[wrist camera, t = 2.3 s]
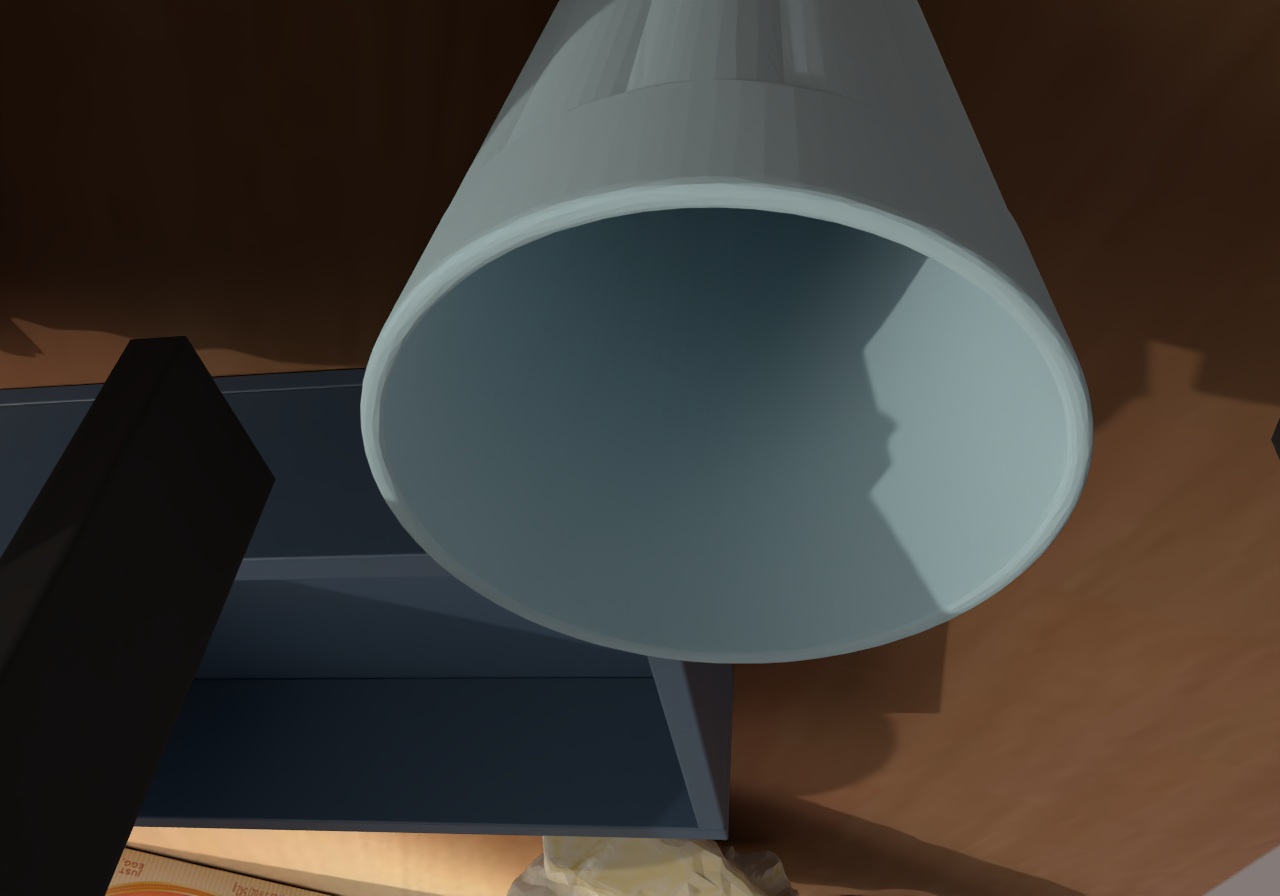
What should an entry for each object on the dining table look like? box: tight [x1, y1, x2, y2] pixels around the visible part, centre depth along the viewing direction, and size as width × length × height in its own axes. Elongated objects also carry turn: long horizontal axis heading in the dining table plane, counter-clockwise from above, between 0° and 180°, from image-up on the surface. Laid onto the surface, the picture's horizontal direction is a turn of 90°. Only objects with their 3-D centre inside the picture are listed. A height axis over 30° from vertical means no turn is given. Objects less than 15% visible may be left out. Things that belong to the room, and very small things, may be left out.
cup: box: [360, 0, 1094, 663], centre depth 15 cm, size 8×8×10 cm
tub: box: [0, 369, 733, 840], centre depth 30 cm, size 15×22×6 cm
